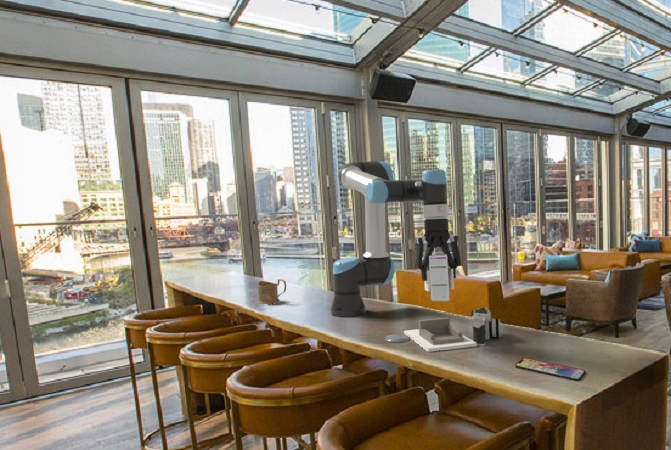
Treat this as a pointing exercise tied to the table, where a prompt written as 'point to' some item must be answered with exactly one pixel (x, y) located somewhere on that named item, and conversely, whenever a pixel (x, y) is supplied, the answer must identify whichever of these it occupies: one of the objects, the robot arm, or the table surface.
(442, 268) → the syrup box
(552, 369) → the smartphone
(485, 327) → the camera
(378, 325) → the table surface
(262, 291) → the mug
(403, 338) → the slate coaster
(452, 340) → the bracket board
